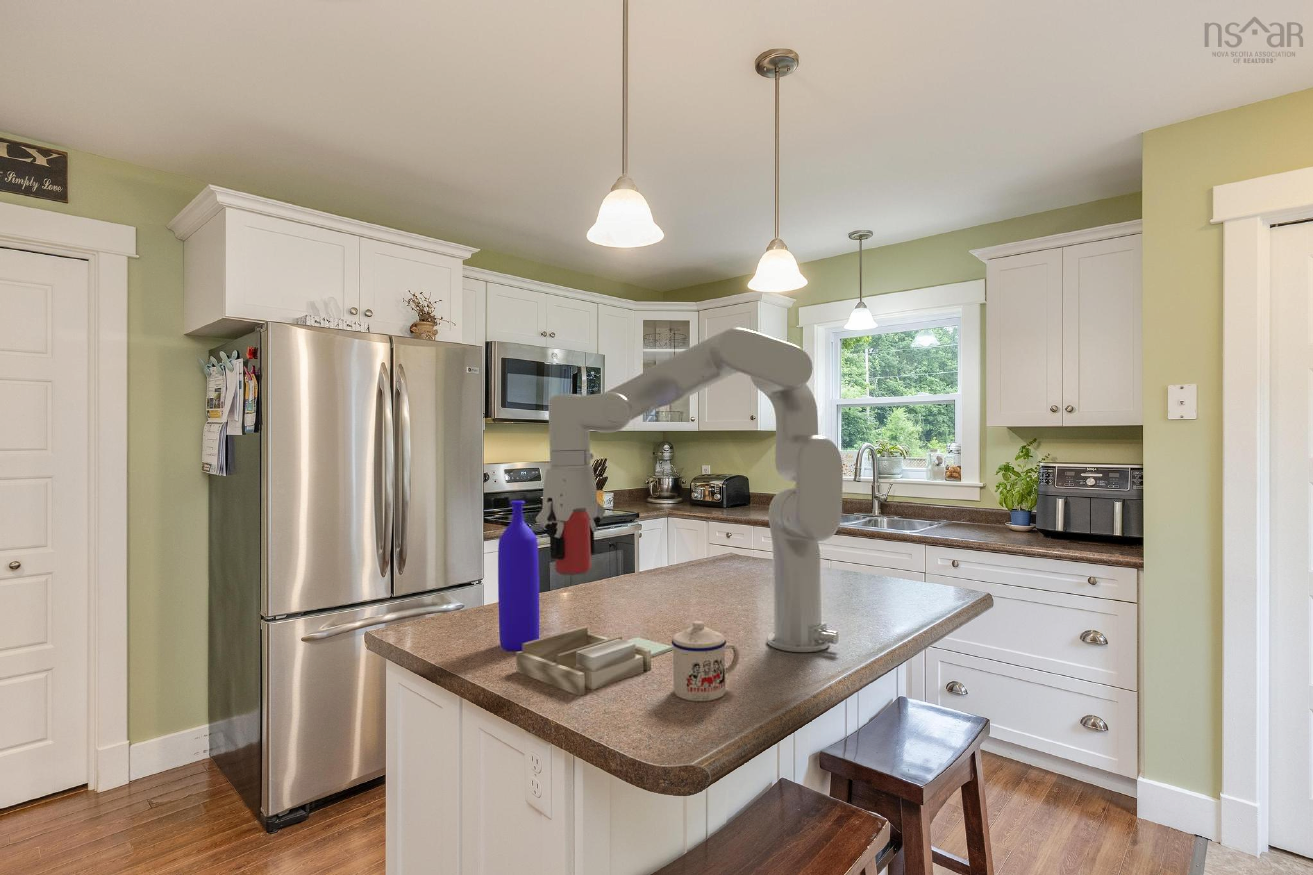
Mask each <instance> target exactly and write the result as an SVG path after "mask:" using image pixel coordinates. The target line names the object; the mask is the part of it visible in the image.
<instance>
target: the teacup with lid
mask: <svg viewBox="0 0 1313 875" xmlns="http://www.w3.org/2000/svg"><path fill="white" fill-rule="evenodd" d="M671 644H672V645H671V646H672V647H673V650H672V654H673V656H672V657H673V659H672V660H673V662H672V663H673V669H672V670H673V692H674V694H675V695H676V696H677V697H678V698H681V699H683V700H687V701H691V702H692V701H693V702H708V701H709V702H710V701H713V700H717V699H719V698H722V697H723V696H724V695H725V694H726V687H727V686H726V685H727V684H726V675H728V674H730V673H732V672H733V671H735V669H736V668H737V666H738V663H739V662H740V661H739V660H740V651H739V648H738V647H737V646H735V644H732V643H730V642H729V643H727V640H726V637H725V635H724V634H722V633H720V632H718V631H716V630H712V629H711V628H709V627H706V626H705V622H704V621H702V620H695V621H693V622H692V626H690V627H688V628H686V629H685V630H683V631H679V632H677V633H675V634H674V635H673V636H672V638H671ZM727 649H731V650H732V651H733V658H732V661H731V663H730V664H729V665H728V667H726V650H727Z"/></svg>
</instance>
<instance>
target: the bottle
mask: <svg viewBox="0 0 1313 875" xmlns="http://www.w3.org/2000/svg"><path fill="white" fill-rule="evenodd" d="M525 503H526V502H525V500H511V501H510V502H509V504H510V505H511V506H512V519H511V522H510V523H509V524H508V526H506V528H505V530H504V531H503V532H502V534H501V535H500V537H499V539H498V548H497V549H498V550H497V588H498V589H497V590H498V591H497V593H498V594H497V599H498V600H497V601H498V604H497V605H498V630H499V632H498V634H499V644H500V648H501V650H504V651H507V652H520V651H522V643H526V642H530V641H533V640H537V639H540V571H539V570H540V566H539V565H540V564H539V547H538V546H539V545H538V539H537V536H536V535H535V533H534V532H533V530H532V529H531V528H530V526H528V525H527V523H525V521H524V516H523V507H524V505H525Z"/></svg>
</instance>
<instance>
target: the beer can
mask: <svg viewBox="0 0 1313 875" xmlns="http://www.w3.org/2000/svg"><path fill="white" fill-rule="evenodd" d="M556 527H557V524H556ZM555 529H556V528H555ZM561 537H563V538H564V559H562V560H559V559H554V561H555V565H554V566H555V572H556V573H557V574H559V575H563V576H577V575H584V574H587V573H588V572H590V570H591V569H592V561H591V560H592V559H591V557H592V554H591V549H590V519H589V515H588V514H587V512H586V508H584V509H575V510H573V513H572V514H571V516H570V518H569V520H568V521H566V522H564V528H563V531H562V534H561Z"/></svg>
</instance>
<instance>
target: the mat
mask: <svg viewBox="0 0 1313 875" xmlns="http://www.w3.org/2000/svg"><path fill="white" fill-rule="evenodd" d="M626 641H627V642H631V643H634V644H635V646H638V647H642V648H646V649H649V650H651V658H654V657H656V656H659V655H661V654H665V653H667V652H670V651H673V645H668V644H663V643H661V642H656V641H652V640H649V639H645V638H641V637H638V636H637V637H634V638H631V639H629V640H626Z"/></svg>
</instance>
